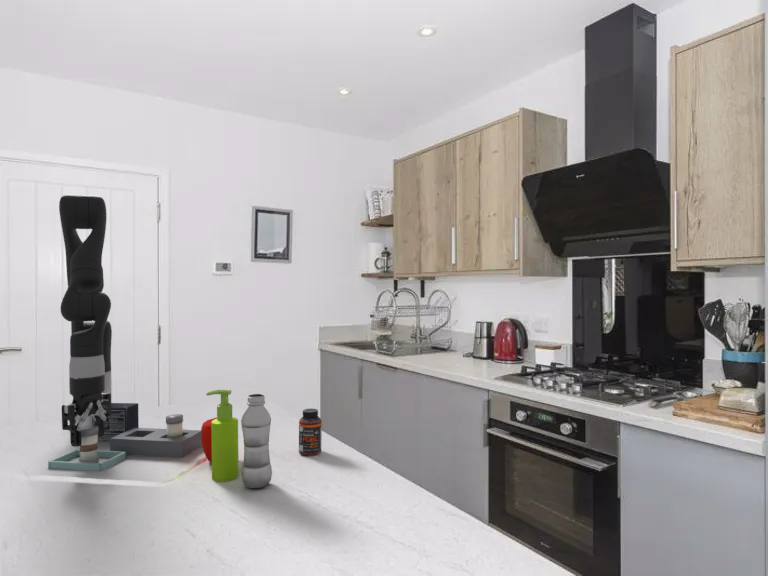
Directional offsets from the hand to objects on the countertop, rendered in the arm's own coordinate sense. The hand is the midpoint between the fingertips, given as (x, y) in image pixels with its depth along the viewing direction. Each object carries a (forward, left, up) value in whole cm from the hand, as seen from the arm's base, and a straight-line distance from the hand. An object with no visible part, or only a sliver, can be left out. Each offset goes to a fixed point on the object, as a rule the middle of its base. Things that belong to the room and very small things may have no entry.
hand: (88, 440), depth 126 cm
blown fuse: (0, 0, -6) cm, 6 cm away
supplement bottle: (+51, +17, -7) cm, 54 cm away
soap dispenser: (+36, -2, -7) cm, 37 cm away
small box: (-7, +19, -7) cm, 22 cm away
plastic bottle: (+46, -6, -7) cm, 47 cm away
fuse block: (+11, +11, -6) cm, 17 cm away
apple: (+30, +8, -7) cm, 32 cm away
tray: (0, 0, -6) cm, 6 cm away
